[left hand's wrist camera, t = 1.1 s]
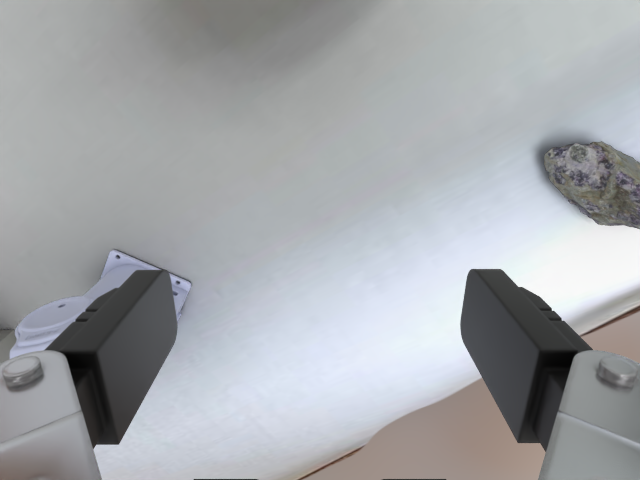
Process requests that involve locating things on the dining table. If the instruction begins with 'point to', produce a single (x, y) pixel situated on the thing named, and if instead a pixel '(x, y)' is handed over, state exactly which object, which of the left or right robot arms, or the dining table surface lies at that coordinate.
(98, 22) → the dining table surface
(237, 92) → the dining table surface
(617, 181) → the mineral rock
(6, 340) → the block
